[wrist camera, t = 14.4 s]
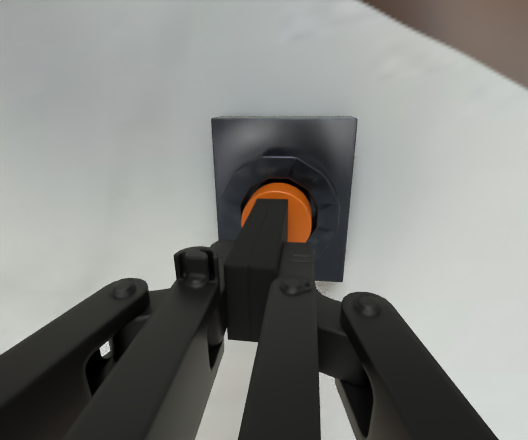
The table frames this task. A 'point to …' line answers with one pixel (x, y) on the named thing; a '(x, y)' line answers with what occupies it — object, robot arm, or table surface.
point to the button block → (289, 175)
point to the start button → (296, 209)
